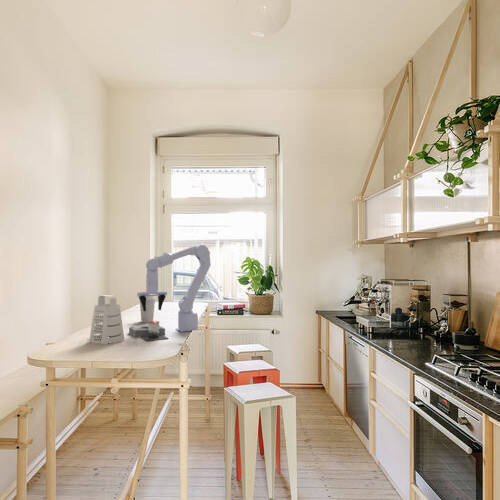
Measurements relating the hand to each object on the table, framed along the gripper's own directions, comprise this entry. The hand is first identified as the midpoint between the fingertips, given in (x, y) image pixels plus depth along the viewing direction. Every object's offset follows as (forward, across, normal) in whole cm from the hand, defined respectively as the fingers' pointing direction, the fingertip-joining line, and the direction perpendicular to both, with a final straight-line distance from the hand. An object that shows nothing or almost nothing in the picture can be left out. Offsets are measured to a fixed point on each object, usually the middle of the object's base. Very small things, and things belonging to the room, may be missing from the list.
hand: (152, 310), depth 208 cm
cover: (+10, -4, -16) cm, 19 cm away
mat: (+10, -4, -17) cm, 20 cm away
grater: (+11, -24, -13) cm, 29 cm away
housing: (+10, -4, -5) cm, 12 cm away
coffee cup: (+11, +7, +33) cm, 35 cm away
